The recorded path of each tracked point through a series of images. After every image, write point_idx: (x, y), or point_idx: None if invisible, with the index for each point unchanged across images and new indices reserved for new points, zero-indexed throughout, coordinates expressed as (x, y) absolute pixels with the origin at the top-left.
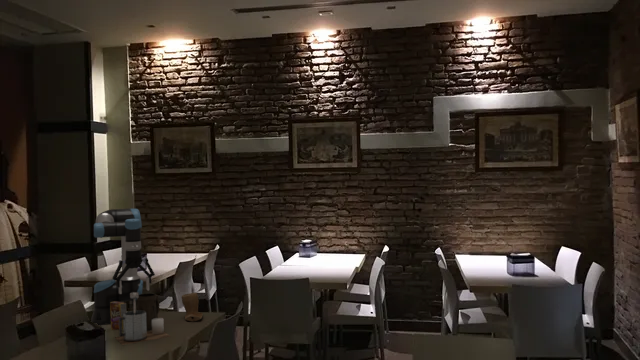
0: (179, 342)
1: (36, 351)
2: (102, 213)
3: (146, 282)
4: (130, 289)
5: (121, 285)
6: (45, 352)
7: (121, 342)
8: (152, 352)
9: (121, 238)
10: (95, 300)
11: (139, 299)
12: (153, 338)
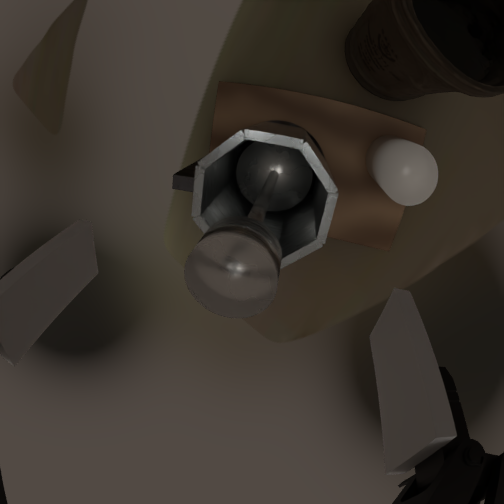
0: (379, 294)
1: (28, 75)
2: None
3: (413, 365)
4: None
5: (46, 327)
6: (38, 97)
7: None
8: (264, 317)
9: None
10: None
11: (398, 24)
12: (331, 223)
